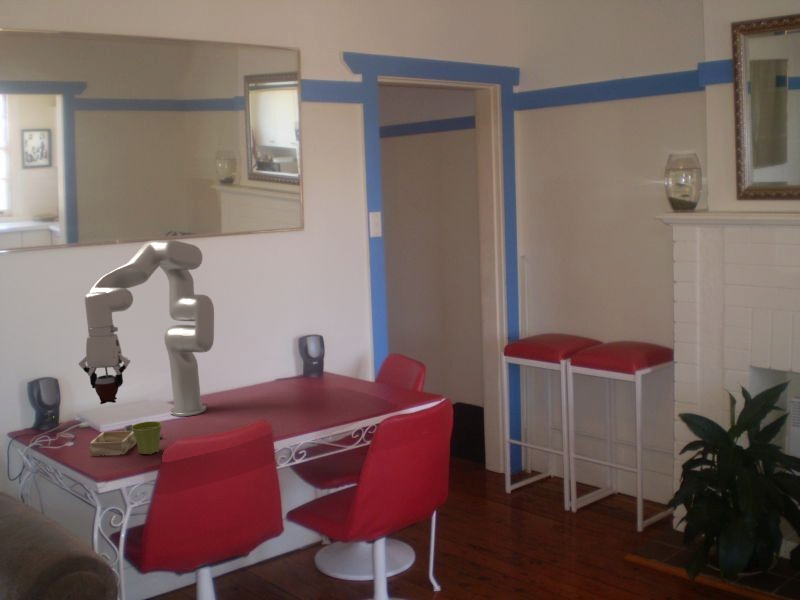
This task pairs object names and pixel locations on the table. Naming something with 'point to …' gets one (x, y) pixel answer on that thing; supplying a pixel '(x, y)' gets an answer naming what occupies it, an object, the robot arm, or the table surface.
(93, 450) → the holder
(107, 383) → the mate gourd
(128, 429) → the clip
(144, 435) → the plant pot
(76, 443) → the table surface
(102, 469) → the table surface
